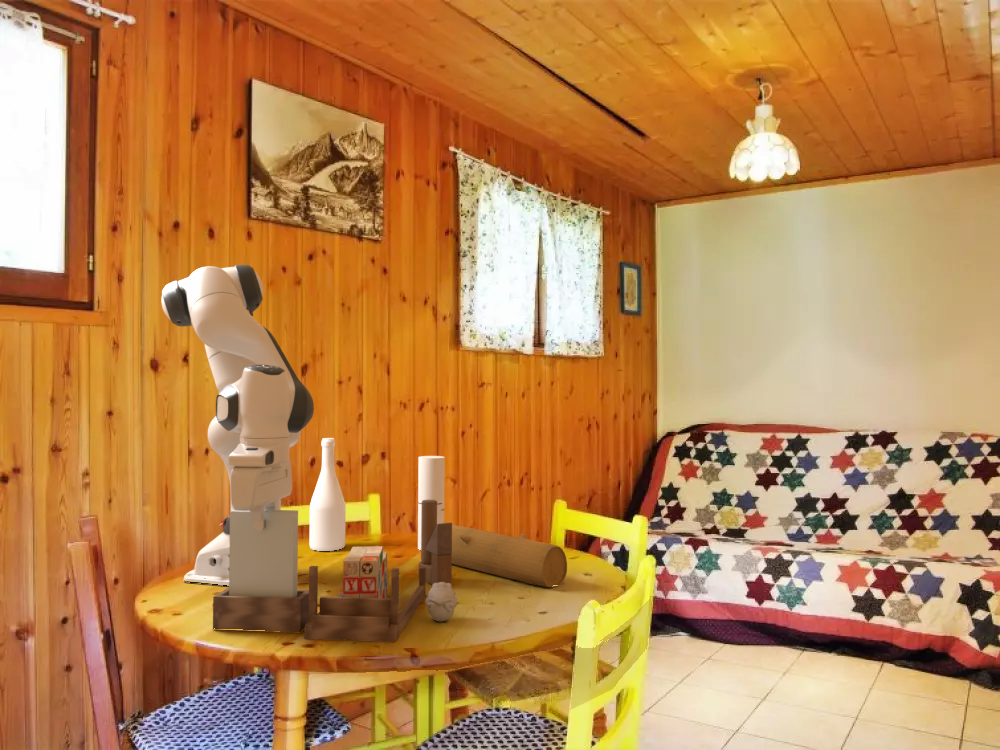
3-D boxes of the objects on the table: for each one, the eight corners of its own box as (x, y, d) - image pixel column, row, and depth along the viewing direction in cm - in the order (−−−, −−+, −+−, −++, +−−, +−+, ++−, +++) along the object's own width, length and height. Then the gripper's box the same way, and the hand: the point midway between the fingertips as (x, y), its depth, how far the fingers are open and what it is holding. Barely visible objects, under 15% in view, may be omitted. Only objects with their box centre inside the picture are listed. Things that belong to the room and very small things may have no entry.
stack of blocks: (358, 595, 162) (358, 537, 163) (387, 594, 163) (388, 536, 163) (342, 626, 141) (342, 559, 141) (376, 626, 141) (376, 559, 142)
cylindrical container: (412, 548, 209) (413, 456, 209) (433, 544, 214) (433, 455, 214) (428, 552, 204) (429, 458, 204) (449, 549, 208) (450, 457, 209)
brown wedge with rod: (437, 588, 168) (437, 506, 168) (417, 577, 177) (418, 499, 177) (452, 586, 169) (452, 505, 170) (432, 575, 179) (433, 498, 179)
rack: (304, 639, 134) (305, 570, 134) (351, 593, 163) (352, 537, 163) (394, 642, 132) (395, 572, 132) (425, 595, 162) (426, 538, 162)
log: (426, 563, 193) (426, 523, 193) (454, 557, 199) (454, 519, 200) (539, 592, 166) (539, 546, 166) (567, 584, 172) (568, 540, 173)
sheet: (228, 620, 140) (229, 511, 140) (234, 616, 142) (235, 509, 143) (292, 622, 139) (293, 512, 139) (297, 618, 141) (298, 510, 142)
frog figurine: (458, 615, 148) (458, 578, 148) (455, 626, 141) (456, 588, 141) (427, 614, 148) (427, 578, 148) (422, 625, 141) (423, 588, 141)
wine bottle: (349, 545, 212) (350, 437, 213) (338, 552, 203) (339, 439, 203) (316, 544, 213) (317, 437, 214) (304, 551, 204) (305, 439, 204)
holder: (212, 630, 138) (213, 596, 138) (227, 620, 144) (227, 588, 144) (300, 632, 137) (300, 599, 137) (311, 622, 143) (311, 590, 143)
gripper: (269, 447, 152) (268, 517, 151) (223, 457, 131) (222, 538, 131) (300, 448, 151) (299, 518, 151) (259, 458, 131) (258, 539, 131)
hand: (263, 527), depth 141 cm, fingers closed on sheet, 2 cm apart
